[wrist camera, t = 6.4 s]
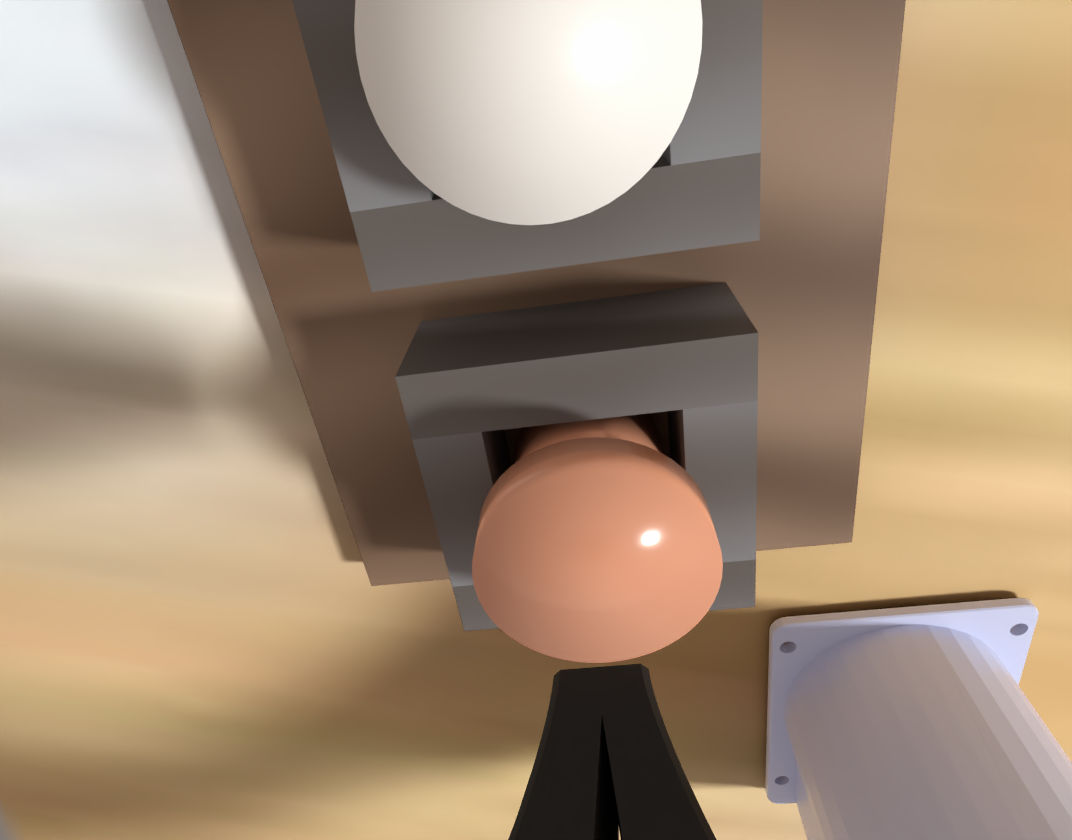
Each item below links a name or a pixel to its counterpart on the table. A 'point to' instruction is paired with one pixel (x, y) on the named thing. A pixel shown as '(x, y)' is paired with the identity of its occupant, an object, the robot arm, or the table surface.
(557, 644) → the rust plunger
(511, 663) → the table surface
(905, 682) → the robot arm
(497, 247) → the board
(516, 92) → the pale plunger
